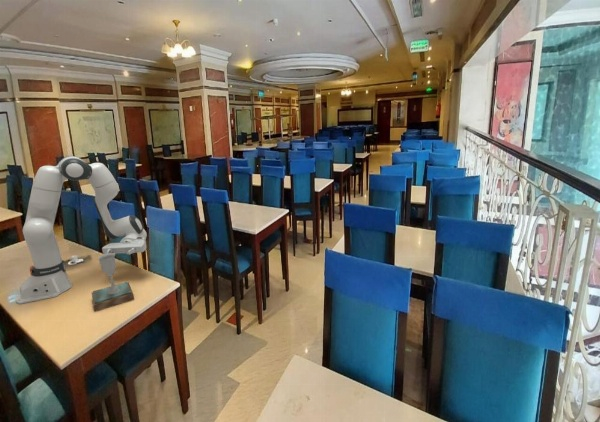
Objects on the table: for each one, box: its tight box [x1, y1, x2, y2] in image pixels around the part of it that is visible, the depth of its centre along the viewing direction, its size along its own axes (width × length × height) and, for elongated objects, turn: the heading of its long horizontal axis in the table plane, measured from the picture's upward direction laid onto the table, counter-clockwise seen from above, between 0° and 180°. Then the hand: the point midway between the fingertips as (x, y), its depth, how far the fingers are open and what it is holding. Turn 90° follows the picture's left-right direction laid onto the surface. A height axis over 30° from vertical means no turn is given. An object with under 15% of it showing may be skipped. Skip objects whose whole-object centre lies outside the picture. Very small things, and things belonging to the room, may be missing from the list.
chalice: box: [97, 253, 120, 294], centre depth 148 cm, size 7×7×18 cm
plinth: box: [91, 281, 135, 312], centre depth 151 cm, size 16×14×4 cm
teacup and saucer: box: [67, 255, 84, 265], centre depth 195 cm, size 9×8×4 cm
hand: (117, 253), depth 159 cm, fingers open, 8 cm apart
